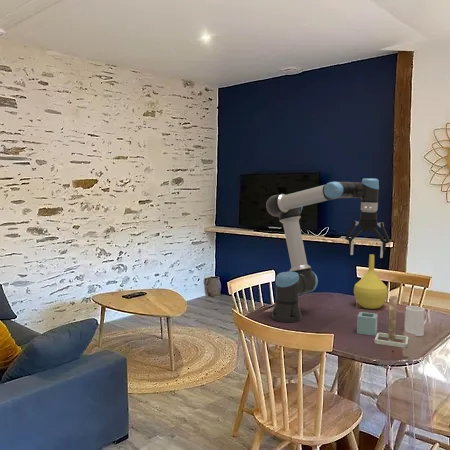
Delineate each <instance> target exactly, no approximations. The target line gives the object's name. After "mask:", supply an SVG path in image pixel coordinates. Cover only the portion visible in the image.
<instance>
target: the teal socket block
mask: <svg viewBox="0 0 450 450" xmlns="http://www.w3.org/2000/svg"><path fill="white" fill-rule="evenodd" d="M378 316H379V313H374V312H373V313H371V312H365V311H359V312H358V314H357V317H356V319H357V320H356V334H359V335H360V334H361V335H365V336H366V335H367V336H373V337H374V336H375V337H376V335H377V332H378Z"/></svg>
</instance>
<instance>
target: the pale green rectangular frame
mask: <svg viewBox="0 0 450 450" xmlns="http://www.w3.org/2000/svg"><path fill="white" fill-rule="evenodd" d="M379 337H380V338H387V339H388V333H385V332H378V331H377V332H376V335H375V338H374V344H376V345H383V346H391V347H396V348H402V349H403V348H405V349H407V348H408V344H409V336H407V335H401V334H395V340H399V341H400V340H401V341H405V342H398V341H395V342H392V341H388V340H383V339H379Z"/></svg>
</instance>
